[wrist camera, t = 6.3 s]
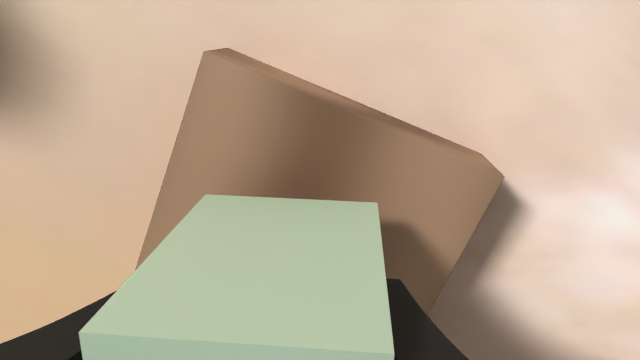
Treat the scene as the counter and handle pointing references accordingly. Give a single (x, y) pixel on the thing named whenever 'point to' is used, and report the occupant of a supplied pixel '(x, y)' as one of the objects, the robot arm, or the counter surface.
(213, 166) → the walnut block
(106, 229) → the counter surface
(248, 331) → the sage block
